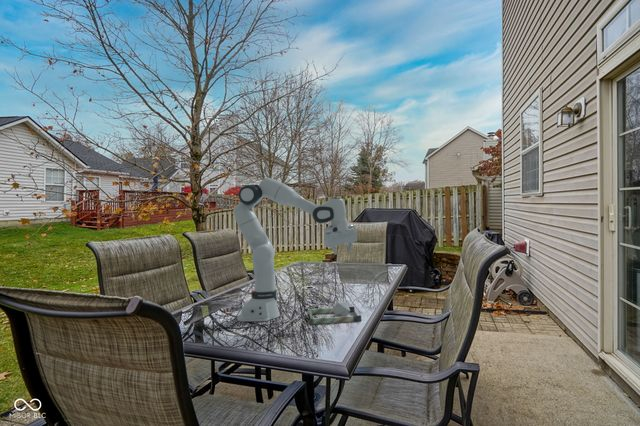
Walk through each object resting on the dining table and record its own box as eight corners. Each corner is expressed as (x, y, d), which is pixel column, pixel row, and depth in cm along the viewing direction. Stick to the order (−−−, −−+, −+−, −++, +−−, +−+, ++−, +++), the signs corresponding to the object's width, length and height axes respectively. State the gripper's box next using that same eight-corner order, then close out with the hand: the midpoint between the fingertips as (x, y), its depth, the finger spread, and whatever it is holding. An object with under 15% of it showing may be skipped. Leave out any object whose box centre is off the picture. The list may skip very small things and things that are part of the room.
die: (352, 316, 184) (344, 300, 189) (352, 312, 177) (344, 295, 182) (338, 323, 183) (331, 306, 188) (337, 319, 176) (329, 302, 181)
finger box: (311, 325, 171) (310, 319, 171) (309, 314, 191) (308, 309, 191) (361, 321, 173) (361, 315, 173) (354, 311, 193) (354, 306, 193)
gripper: (350, 224, 197) (353, 249, 197) (321, 230, 185) (324, 256, 185) (358, 224, 191) (361, 249, 192) (328, 229, 180) (331, 256, 180)
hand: (343, 252), depth 188 cm, fingers open, 8 cm apart
